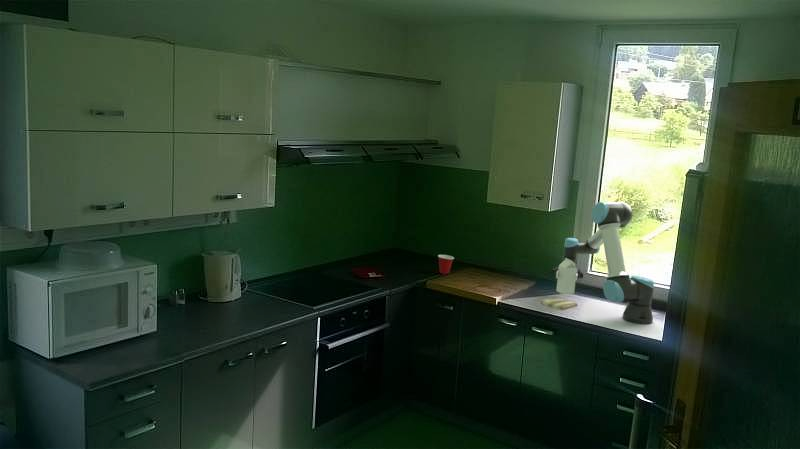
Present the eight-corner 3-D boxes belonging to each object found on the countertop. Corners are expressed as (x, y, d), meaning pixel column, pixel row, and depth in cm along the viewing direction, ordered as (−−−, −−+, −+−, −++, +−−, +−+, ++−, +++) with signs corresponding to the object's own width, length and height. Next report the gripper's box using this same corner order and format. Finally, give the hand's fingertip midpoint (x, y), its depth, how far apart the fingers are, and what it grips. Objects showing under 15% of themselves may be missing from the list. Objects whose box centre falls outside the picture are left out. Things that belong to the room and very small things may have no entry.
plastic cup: (455, 276, 409) (456, 257, 407) (439, 276, 406) (440, 257, 404) (450, 271, 419) (451, 254, 417) (434, 271, 416) (435, 254, 414)
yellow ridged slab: (577, 306, 356) (577, 303, 356) (563, 310, 347) (563, 307, 347) (554, 299, 367) (554, 297, 367) (540, 303, 358) (540, 300, 358)
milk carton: (562, 294, 345) (566, 261, 341) (556, 291, 351) (559, 257, 348) (574, 294, 347) (578, 261, 343) (567, 290, 353) (571, 257, 350)
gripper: (587, 276, 362) (587, 286, 341) (547, 271, 368) (545, 281, 347) (589, 264, 360) (588, 273, 339) (549, 259, 367) (546, 267, 346)
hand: (566, 277), depth 343 cm, fingers closed on milk carton, 10 cm apart
